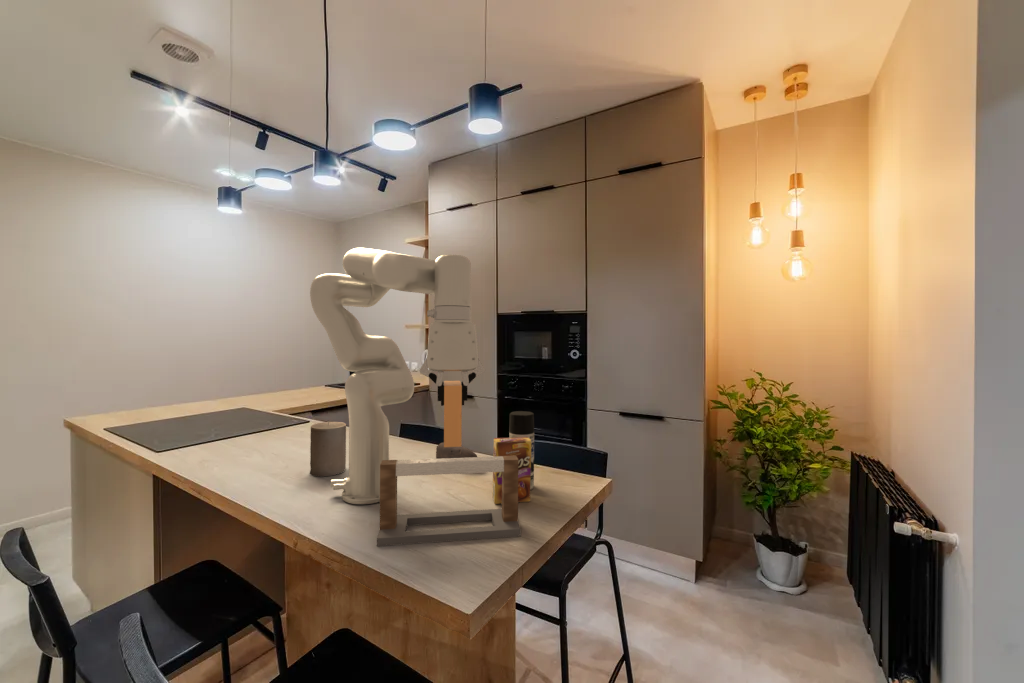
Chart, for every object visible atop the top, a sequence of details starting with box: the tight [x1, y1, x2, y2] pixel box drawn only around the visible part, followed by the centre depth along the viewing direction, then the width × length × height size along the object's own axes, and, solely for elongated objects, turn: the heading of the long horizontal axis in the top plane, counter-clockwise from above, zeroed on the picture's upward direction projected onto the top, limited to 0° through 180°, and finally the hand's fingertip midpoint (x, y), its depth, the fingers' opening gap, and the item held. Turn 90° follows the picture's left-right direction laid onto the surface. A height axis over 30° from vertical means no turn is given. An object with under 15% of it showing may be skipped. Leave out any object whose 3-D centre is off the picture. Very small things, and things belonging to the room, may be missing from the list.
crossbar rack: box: [376, 455, 522, 547], centre depth 85 cm, size 28×10×14 cm, turn 99°
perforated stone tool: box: [435, 441, 478, 459], centre depth 124 cm, size 15×5×7 cm, turn 59°
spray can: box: [508, 410, 535, 491], centre depth 108 cm, size 7×7×20 cm
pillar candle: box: [309, 420, 347, 478], centre depth 119 cm, size 10×10×15 cm
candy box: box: [491, 437, 531, 505], centre depth 100 cm, size 9×4×15 cm, turn 103°
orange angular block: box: [443, 380, 463, 447], centre depth 84 cm, size 10×3×12 cm, turn 9°
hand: (452, 403), depth 84 cm, fingers closed on orange angular block, 3 cm apart
